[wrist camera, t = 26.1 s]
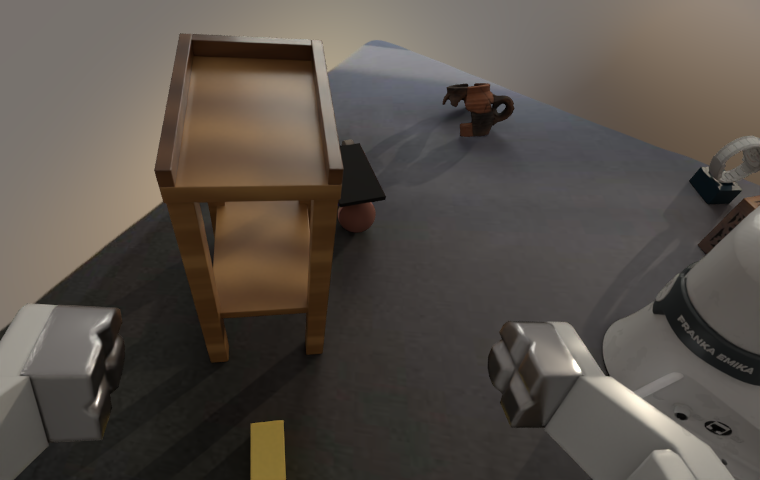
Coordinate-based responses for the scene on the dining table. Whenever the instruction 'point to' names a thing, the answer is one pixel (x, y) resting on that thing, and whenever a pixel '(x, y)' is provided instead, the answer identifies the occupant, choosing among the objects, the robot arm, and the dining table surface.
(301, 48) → the wooden side table
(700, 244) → the tissue box cover
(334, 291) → the dining table surface
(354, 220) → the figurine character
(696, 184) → the watch
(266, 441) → the yellow bar
